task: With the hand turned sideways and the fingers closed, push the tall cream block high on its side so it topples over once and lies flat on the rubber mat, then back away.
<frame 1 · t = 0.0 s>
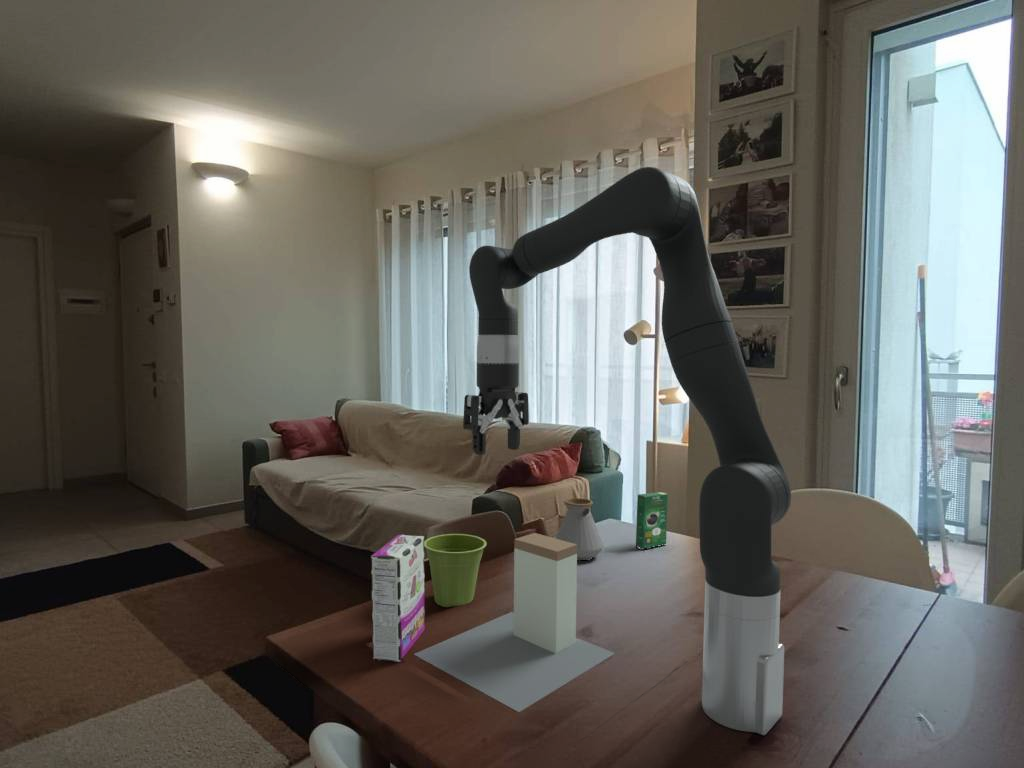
hand: (497, 451, 111), 29 cm above the table, tool pointing down, fingers open, 8 cm apart
coffee pot: (580, 564, 139), on the table
rubber mat: (514, 657, 96), on the table
plant pot: (454, 602, 117), on the table
candy bar box: (399, 646, 99), on the table
cream block: (544, 638, 101), point 1 cm above the table, touching rubber mat
coffee box: (651, 547, 152), on the table
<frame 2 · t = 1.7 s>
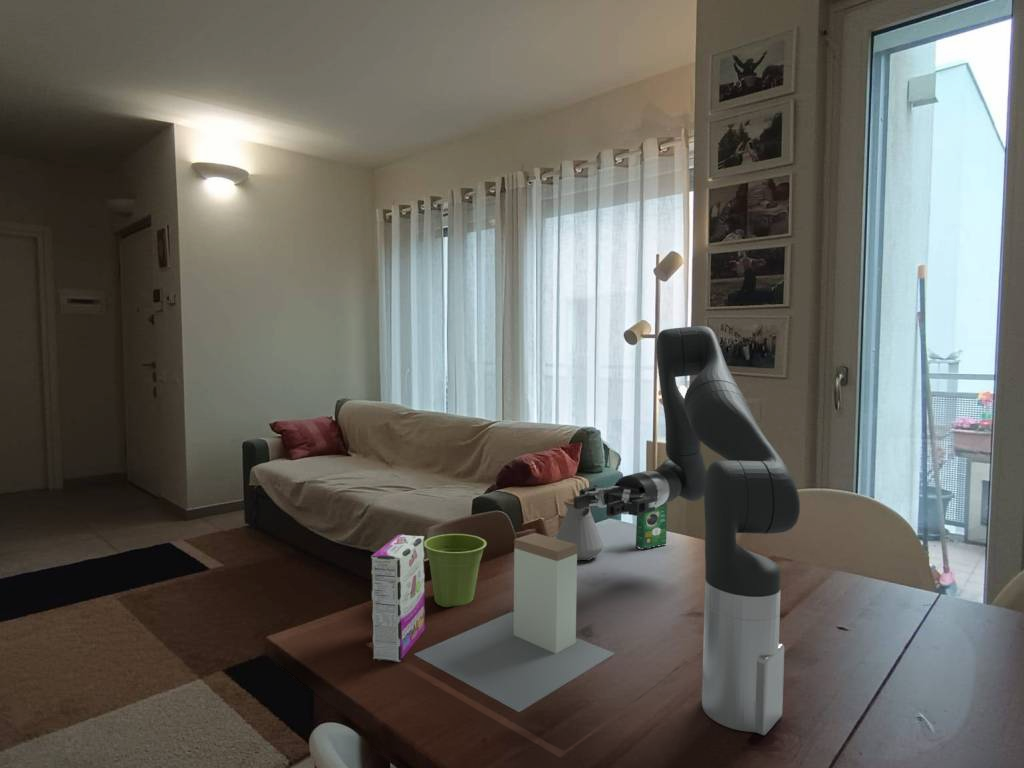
hand: (591, 506, 109), 20 cm above the table, tool horizontal, fingers open, 6 cm apart
nothing on the table moved.
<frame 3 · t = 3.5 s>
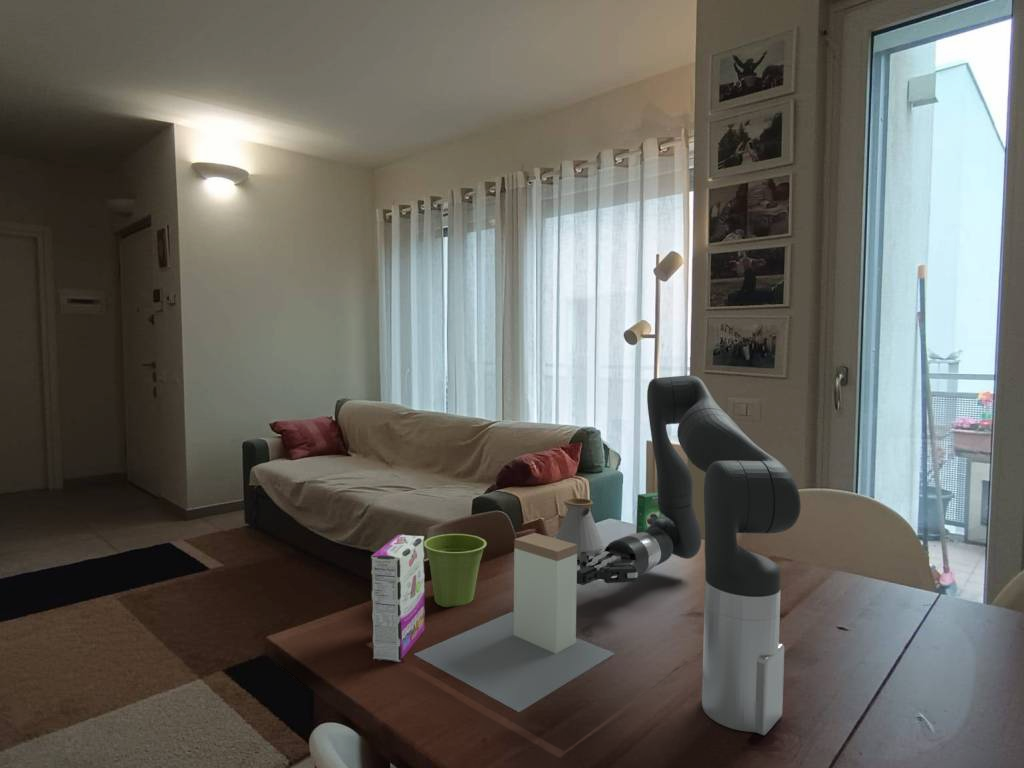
hand: (578, 578, 107), 8 cm above the table, tool horizontal, fingers closed
nothing on the table moved.
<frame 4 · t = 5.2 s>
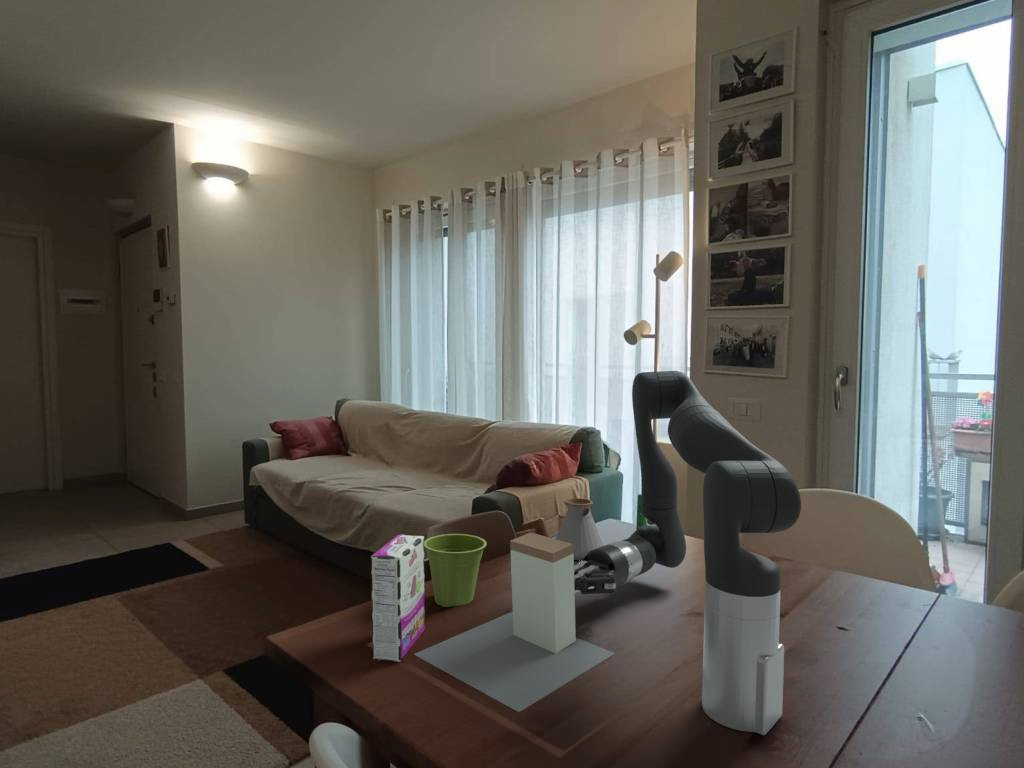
hand: (553, 589, 102), 8 cm above the table, tool horizontal, fingers closed
cream block: (544, 637, 101), point 1 cm above the table, touching gripper, rubber mat
everything else where it was.
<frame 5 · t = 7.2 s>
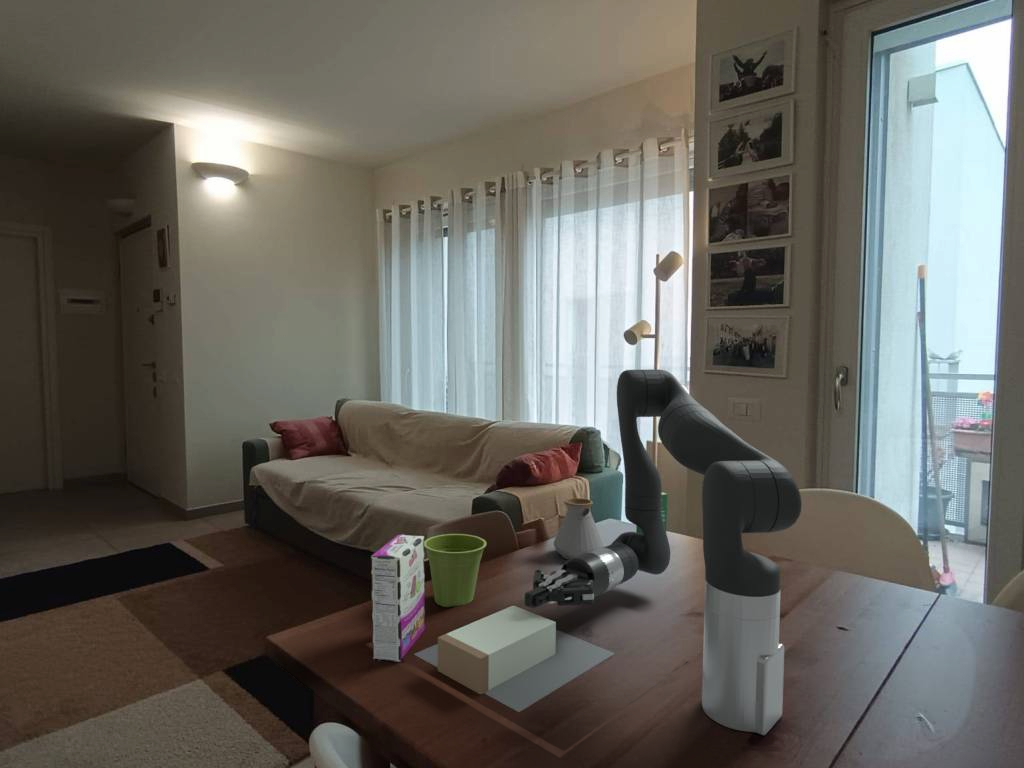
hand: (528, 601, 97), 8 cm above the table, tool horizontal, fingers closed
cream block: (533, 628, 99), point 3 cm above the table, tilted 90°, touching rubber mat
everything else where it was.
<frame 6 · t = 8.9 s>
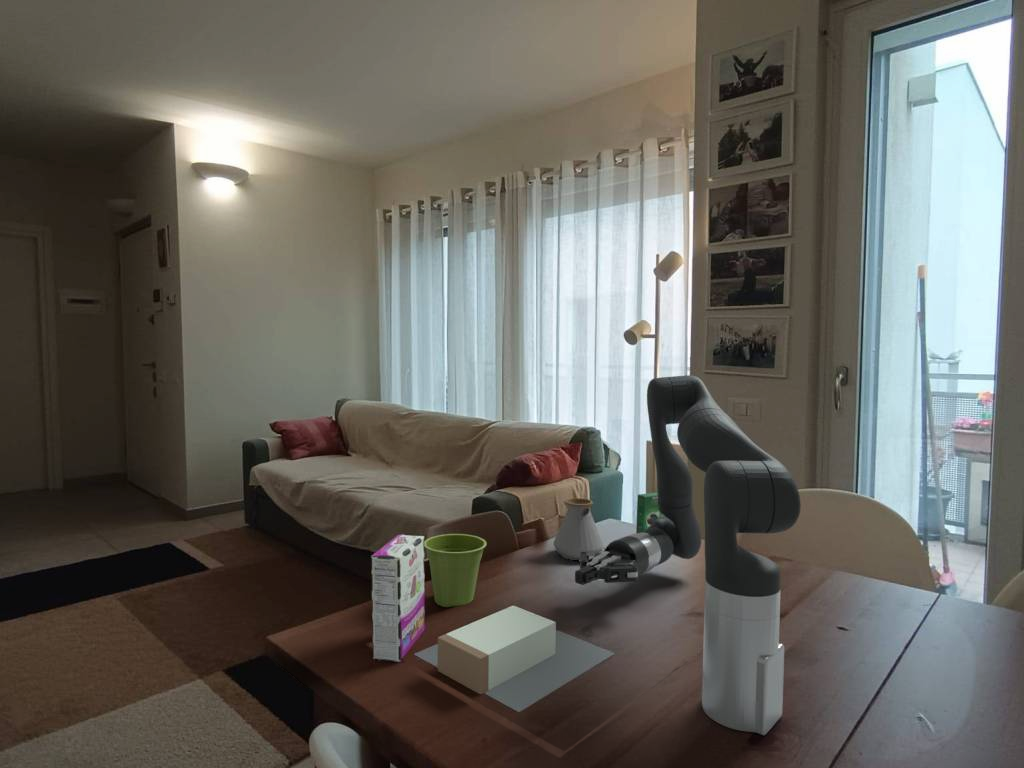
hand: (578, 578, 107), 8 cm above the table, tool horizontal, fingers closed
nothing on the table moved.
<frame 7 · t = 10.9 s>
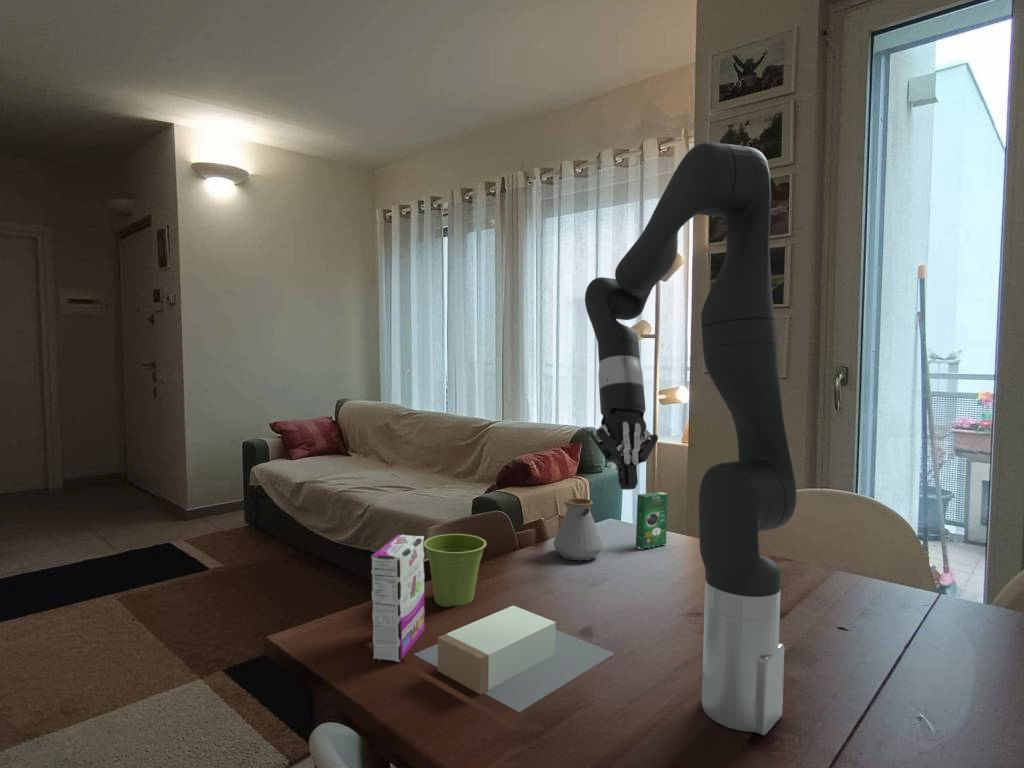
hand: (628, 488, 101), 25 cm above the table, tool tilted 20°, fingers closed
nothing on the table moved.
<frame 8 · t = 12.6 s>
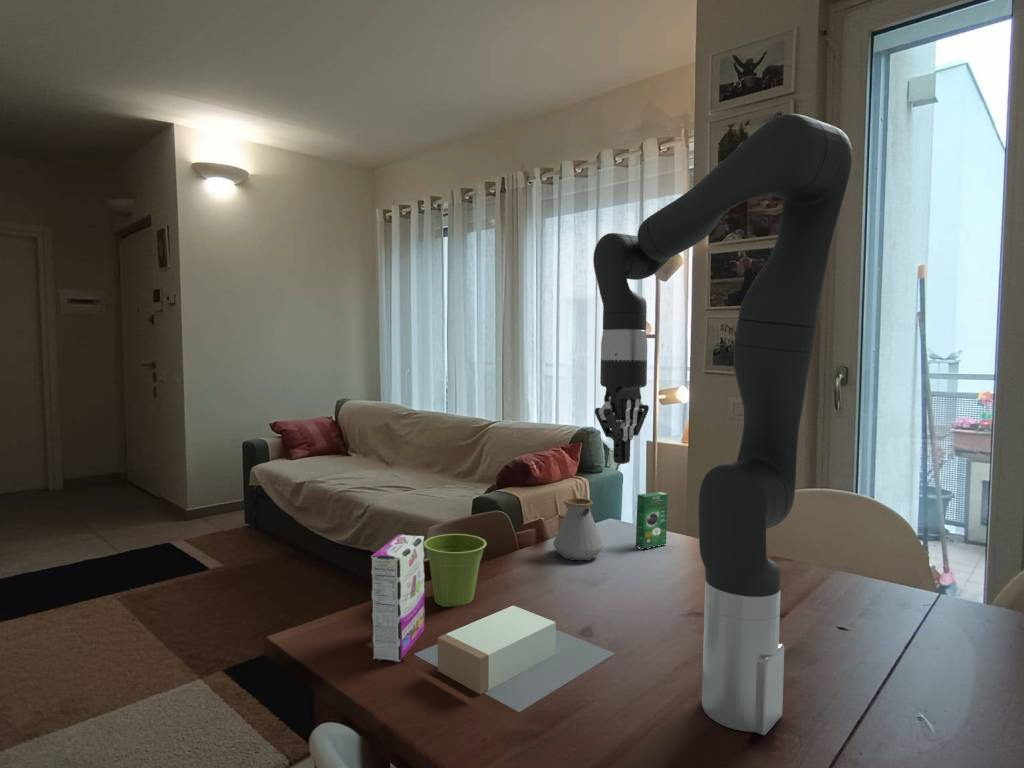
hand: (621, 462, 102), 29 cm above the table, tool pointing down, fingers closed
nothing on the table moved.
at the end: cream block tilted 90°; cream block inside the target area on the rubber mat (1.9 cm from its centre), point 3.1 cm above the rubber mat's base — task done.
